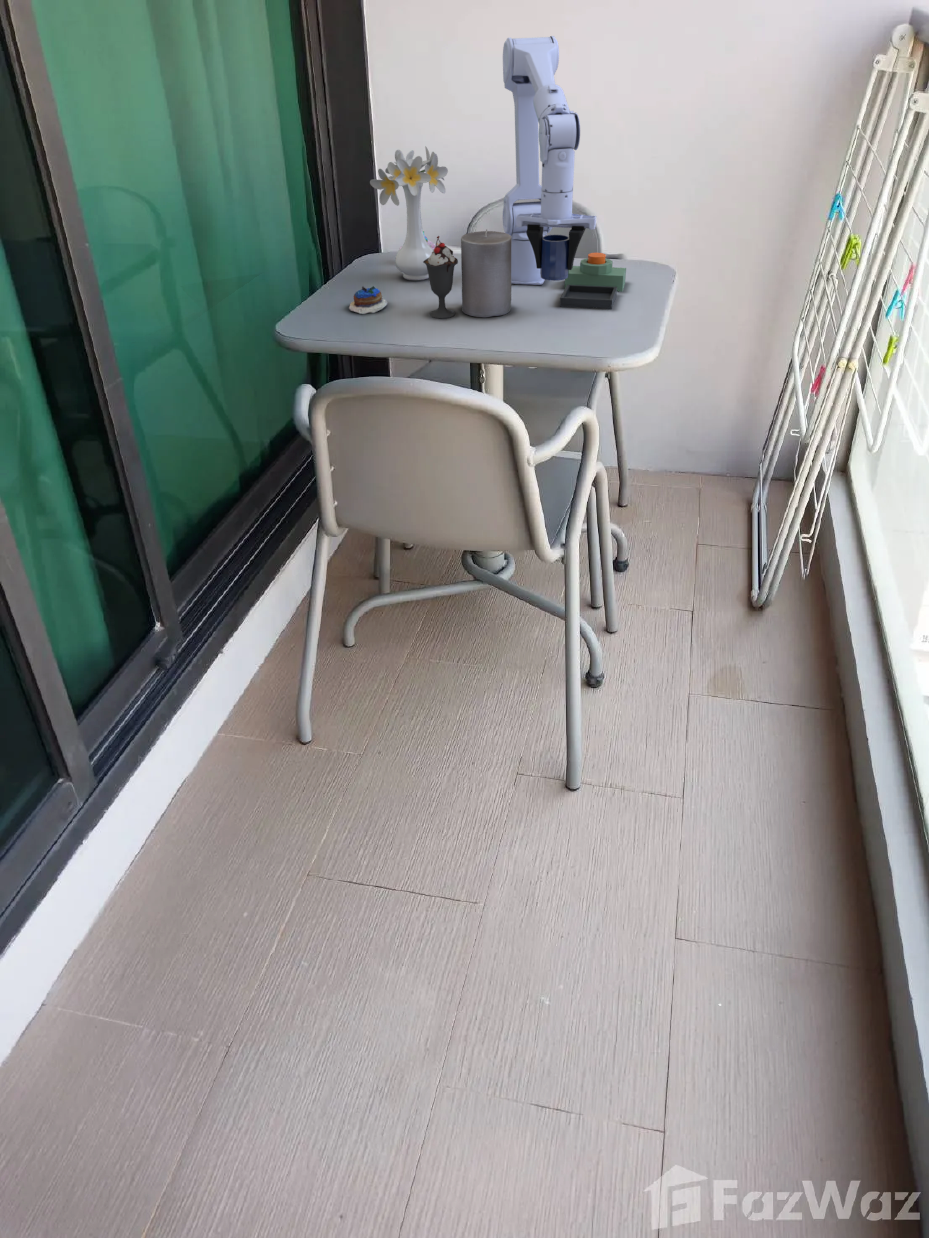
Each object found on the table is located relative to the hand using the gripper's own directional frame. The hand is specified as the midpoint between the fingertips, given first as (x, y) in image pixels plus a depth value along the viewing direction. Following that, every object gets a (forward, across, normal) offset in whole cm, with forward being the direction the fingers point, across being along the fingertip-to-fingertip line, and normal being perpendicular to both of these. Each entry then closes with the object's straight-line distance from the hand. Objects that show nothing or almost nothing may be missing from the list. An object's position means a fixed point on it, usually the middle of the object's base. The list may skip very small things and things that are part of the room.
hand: (554, 268), depth 171 cm
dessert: (+9, -37, -3) cm, 38 cm away
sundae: (+9, -21, -5) cm, 23 cm away
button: (+4, +6, +19) cm, 20 cm away
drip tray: (+8, +6, +8) cm, 13 cm away
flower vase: (+9, -33, +19) cm, 39 cm away
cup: (+2, 0, 0) cm, 2 cm away
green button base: (+8, +6, +19) cm, 21 cm away
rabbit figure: (+9, -37, +35) cm, 52 cm away
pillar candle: (+9, -13, -1) cm, 16 cm away
